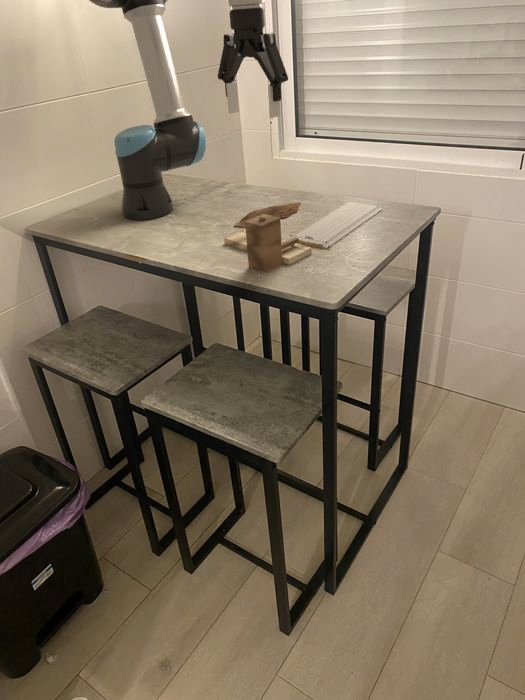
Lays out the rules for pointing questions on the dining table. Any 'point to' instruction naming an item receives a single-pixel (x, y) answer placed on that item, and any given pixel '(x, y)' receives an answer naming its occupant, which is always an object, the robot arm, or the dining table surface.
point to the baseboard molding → (336, 225)
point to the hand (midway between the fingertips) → (253, 114)
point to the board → (289, 253)
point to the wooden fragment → (271, 212)
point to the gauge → (265, 242)
